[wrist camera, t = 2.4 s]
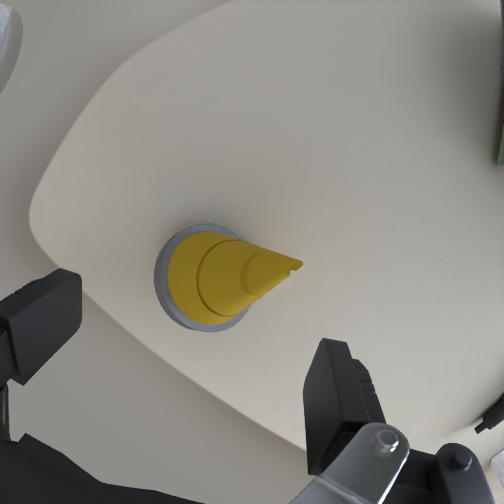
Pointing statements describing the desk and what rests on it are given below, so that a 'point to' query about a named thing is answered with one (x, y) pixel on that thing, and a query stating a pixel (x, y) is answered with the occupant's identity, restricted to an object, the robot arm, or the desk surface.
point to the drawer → (503, 153)
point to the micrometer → (492, 417)
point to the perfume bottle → (499, 466)
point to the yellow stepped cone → (215, 277)
